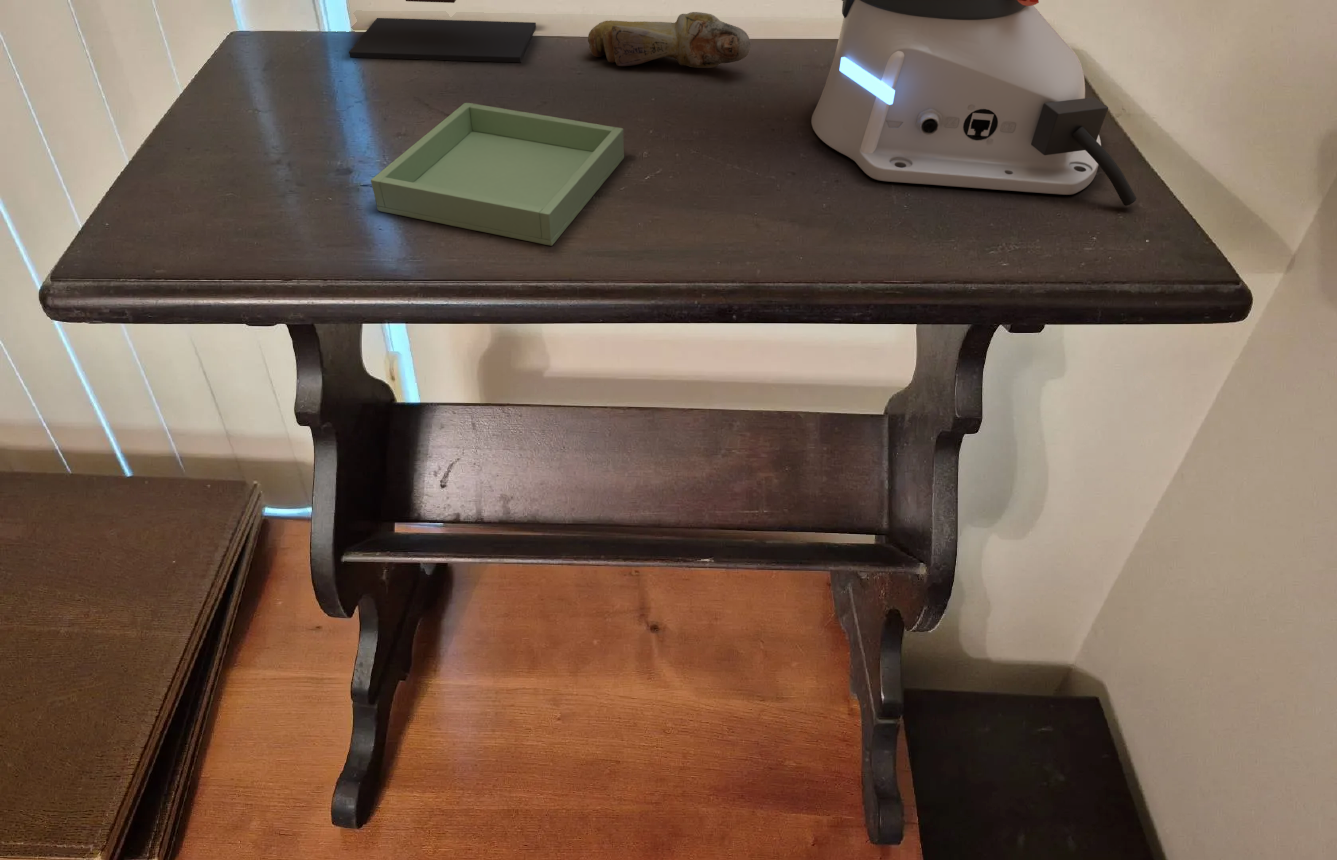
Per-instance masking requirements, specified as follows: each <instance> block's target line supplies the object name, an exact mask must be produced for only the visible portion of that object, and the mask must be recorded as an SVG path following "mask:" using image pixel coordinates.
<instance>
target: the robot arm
mask: <svg viewBox="0 0 1337 860" xmlns="http://www.w3.org/2000/svg"><path fill="white" fill-rule="evenodd" d="M841 2H842V5H841V6H842V7H841V15H842V16H843V17H842V18H843V19H842V24H841V28H840V33H839V37H838V41H837V44H836V47H835V50H834V51H835V52H834V55H833V59H832V62H831V66H830V69H829V72H828V75H827V78H826V81H825V84H824V87H823V89H822V93H821V95H820V97H819V100H818V102H817V104H816V106H815V108H814V110H813V112H812V115H811V119H810V120H811V121H810V122H811V123H810V124H811V127H812V130H813V131H814V133H815V134H816V136H817V137H818V138H819V139H820V140H821V141H822V142H823V143H825V145H827V146H828V147H830V148H831V149H833V150H835V151H836V152H838V153H840V154H842V155H844V156H846V157H848V158H849V159H850V160H852V161H853V162H854V163H856V165H857V166H858V167H859V169H860V170H862V171H863V173H864V174H866V175H867V176H868V177H870V178H871V179H873V180H876V181H881V182H891V183H904V184H915V185H916V184H917V185H932V186H942V187H943V186H944V187H957V188H972V189H983V190H995V191H996V190H998V191H1007V192H1008V191H1010V192H1011V191H1012V192H1023V193H1035V194H1036V193H1037V194H1050V195H1063V196H1065V195H1066V196H1068V195H1069V196H1070V195H1075V194H1077V193H1079V192H1081V191H1083V190H1084V189H1086V188H1087V187H1088V186H1089V185H1090V184H1091V183H1092V182H1093V180H1095V177H1096V175H1097V173H1098V170H1099V167H1100V168H1101V170H1102V171H1103V172H1104V174H1105V175H1106V177H1107V178H1108V179H1109V181H1110V183H1111V184H1112V187H1113V188H1114V190H1115V192H1116V193H1117V196H1118V197H1119V200H1120V201H1121V202H1122V204H1123V206H1125V207H1127V206H1130V205H1132V204H1133V203H1135V202H1136V201H1137V197H1136V195H1135V192H1134V191H1133V189H1132V188H1131V185H1130V184H1129V182H1128V179H1127V178H1126V176H1125V175H1124V173H1123V171H1122V170H1121V169H1120V166H1118V164H1117V163H1116V161H1115V160H1114V159H1113V158H1112V156H1111V155H1110V154H1109V153H1108V151H1106V149H1105V148H1104V147H1103V146H1102V141H1101V138H1100V132H1101V130H1102V127H1103V124H1104V121H1105V119H1106V116H1107V113H1108V110H1109V107H1108V106H1107V105H1106V104H1105V103H1103V102H1101V101H1100V100H1098V99H1097V98H1096V97H1094V96H1093V97H1086V85H1085V84H1086V82H1085V74H1084V69H1083V66H1082V64H1081V61H1080V59H1079V56H1078V55H1077V53H1076V52H1075V51H1074V50H1073V48H1071V46H1070V45H1069V44H1068V43H1067V42H1066V41H1065V40H1064V39H1063V37H1062V36H1061V35H1060V34H1059V33H1058V32H1057V30H1055V28H1054V27H1053V26H1052V24H1050V23H1049V21H1048V20H1047V19H1046V18H1045V17H1044V16H1043V15H1042V13H1041V12H1040V11H1039V10H1038V9H1037V7H1036V6H1035V5H1037V4H1039V2H1040V1H1039V0H841Z"/></svg>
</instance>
